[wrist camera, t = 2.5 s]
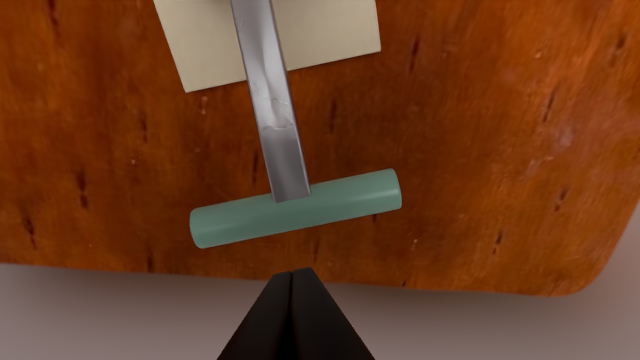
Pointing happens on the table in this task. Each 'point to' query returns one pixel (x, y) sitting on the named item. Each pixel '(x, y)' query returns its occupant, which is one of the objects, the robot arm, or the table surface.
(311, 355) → the robot arm
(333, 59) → the toaster bracket
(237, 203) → the lever
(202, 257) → the table surface
